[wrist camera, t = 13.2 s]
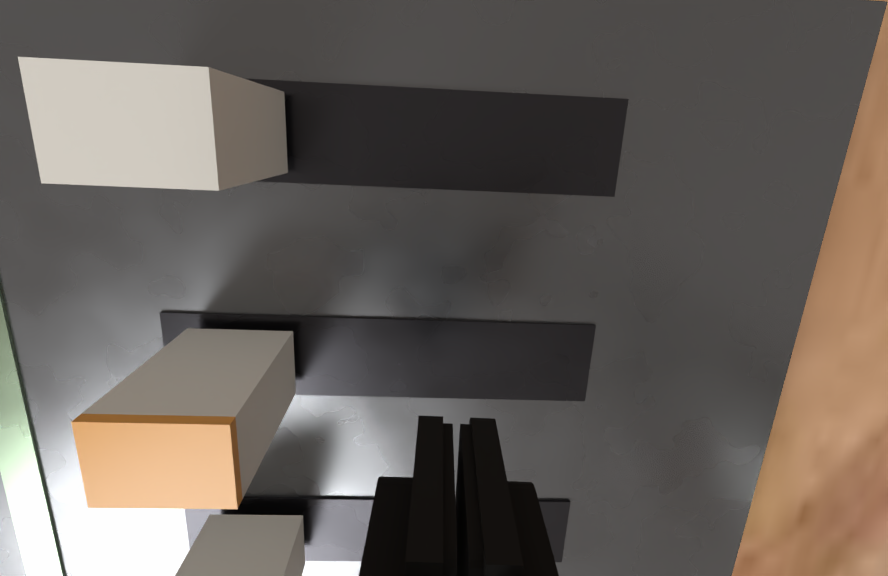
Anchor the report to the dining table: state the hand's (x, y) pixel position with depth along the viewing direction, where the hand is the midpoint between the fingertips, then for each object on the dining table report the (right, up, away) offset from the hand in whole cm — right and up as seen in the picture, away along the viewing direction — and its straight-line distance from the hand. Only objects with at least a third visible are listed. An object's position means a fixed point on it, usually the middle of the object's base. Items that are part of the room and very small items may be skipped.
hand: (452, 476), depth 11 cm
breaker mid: (-6, +2, +4) cm, 7 cm away
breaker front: (-6, +8, +2) cm, 10 cm away
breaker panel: (-3, +3, +6) cm, 8 cm away
